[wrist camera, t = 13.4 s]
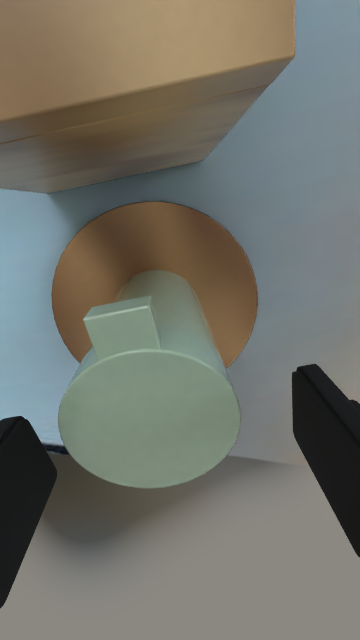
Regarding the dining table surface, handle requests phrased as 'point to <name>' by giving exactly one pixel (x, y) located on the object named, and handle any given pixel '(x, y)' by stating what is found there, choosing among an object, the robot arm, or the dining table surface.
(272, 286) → the dining table surface
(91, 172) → the shelf unit
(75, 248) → the disc
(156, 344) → the jug
